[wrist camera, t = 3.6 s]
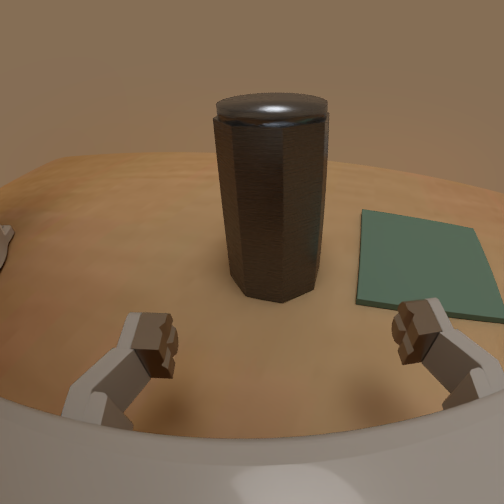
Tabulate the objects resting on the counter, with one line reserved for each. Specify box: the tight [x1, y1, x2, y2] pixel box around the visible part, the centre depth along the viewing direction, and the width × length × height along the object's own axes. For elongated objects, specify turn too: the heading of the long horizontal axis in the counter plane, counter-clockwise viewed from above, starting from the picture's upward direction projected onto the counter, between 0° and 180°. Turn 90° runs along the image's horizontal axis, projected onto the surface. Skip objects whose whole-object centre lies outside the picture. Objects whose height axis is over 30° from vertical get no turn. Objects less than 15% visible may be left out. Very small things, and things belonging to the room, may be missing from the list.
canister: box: [213, 93, 329, 303], centre depth 19 cm, size 6×6×12 cm
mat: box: [356, 209, 504, 323], centre depth 22 cm, size 12×12×1 cm
